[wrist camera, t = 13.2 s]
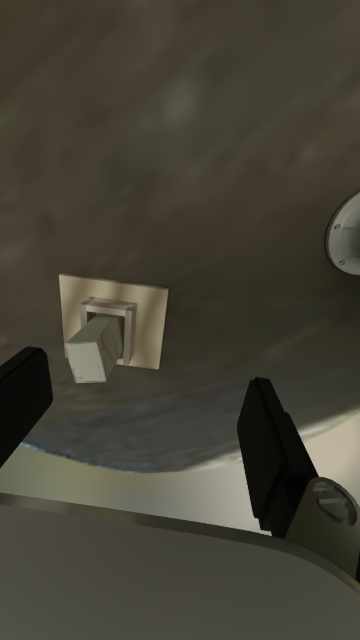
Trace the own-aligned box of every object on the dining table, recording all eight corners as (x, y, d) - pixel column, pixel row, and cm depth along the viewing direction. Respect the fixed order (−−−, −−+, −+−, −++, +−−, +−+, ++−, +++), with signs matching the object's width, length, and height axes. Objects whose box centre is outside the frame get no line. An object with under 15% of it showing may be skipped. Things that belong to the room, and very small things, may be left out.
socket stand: (168, 288, 39) (166, 297, 34) (159, 365, 45) (156, 382, 40) (62, 273, 38) (45, 280, 33) (68, 354, 44) (54, 369, 40)
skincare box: (129, 340, 42) (107, 383, 30) (105, 341, 42) (75, 384, 31) (123, 308, 39) (97, 342, 28) (97, 309, 39) (62, 344, 28)
